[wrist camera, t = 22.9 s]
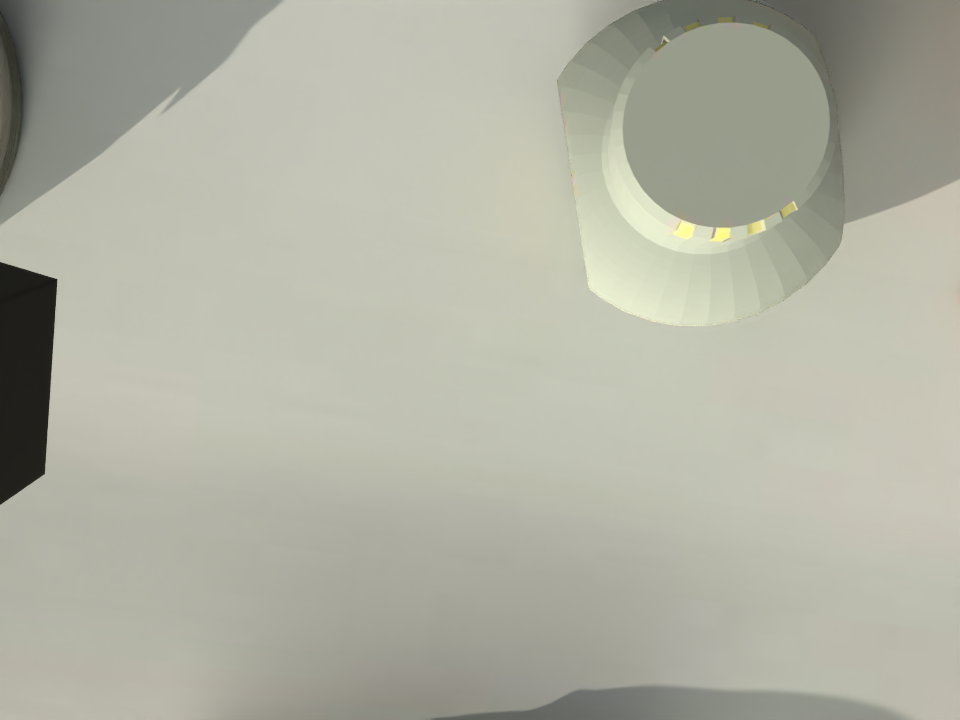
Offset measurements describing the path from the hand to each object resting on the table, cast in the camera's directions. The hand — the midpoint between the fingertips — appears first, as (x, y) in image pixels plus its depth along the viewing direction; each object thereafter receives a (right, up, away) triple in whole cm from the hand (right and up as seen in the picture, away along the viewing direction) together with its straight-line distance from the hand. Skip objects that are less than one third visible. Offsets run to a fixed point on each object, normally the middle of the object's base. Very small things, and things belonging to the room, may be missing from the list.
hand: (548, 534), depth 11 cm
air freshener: (+7, +9, +23) cm, 26 cm away
